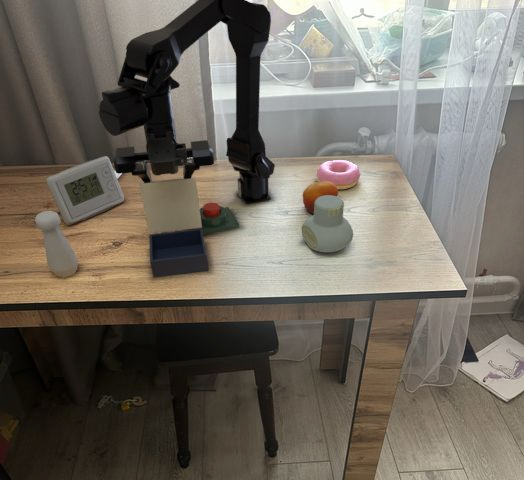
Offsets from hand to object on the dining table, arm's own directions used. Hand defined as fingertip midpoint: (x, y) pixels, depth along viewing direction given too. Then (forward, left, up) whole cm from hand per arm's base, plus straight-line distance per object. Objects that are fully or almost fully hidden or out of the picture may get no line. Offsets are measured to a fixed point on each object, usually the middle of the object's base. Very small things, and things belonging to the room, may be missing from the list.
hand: (170, 197), depth 103 cm
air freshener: (-29, +14, -10) cm, 34 cm away
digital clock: (+16, -20, -10) cm, 27 cm away
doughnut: (-44, -11, -10) cm, 47 cm away
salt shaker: (+24, +3, -10) cm, 26 cm away
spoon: (+10, -33, -10) cm, 36 cm away
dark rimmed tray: (+1, +8, -10) cm, 13 cm away
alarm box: (-9, -3, -10) cm, 14 cm away
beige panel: (0, +3, 0) cm, 3 cm away
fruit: (-34, 0, -10) cm, 36 cm away
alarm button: (-9, -3, -7) cm, 12 cm away
